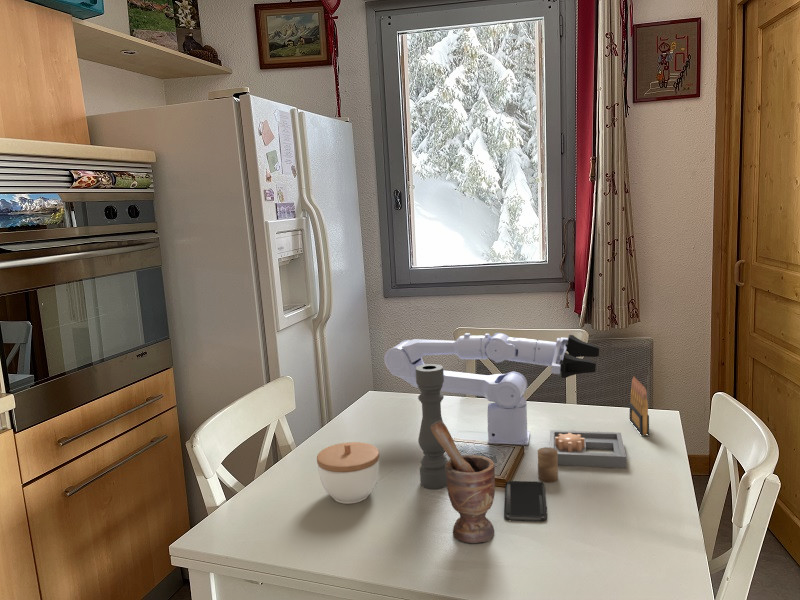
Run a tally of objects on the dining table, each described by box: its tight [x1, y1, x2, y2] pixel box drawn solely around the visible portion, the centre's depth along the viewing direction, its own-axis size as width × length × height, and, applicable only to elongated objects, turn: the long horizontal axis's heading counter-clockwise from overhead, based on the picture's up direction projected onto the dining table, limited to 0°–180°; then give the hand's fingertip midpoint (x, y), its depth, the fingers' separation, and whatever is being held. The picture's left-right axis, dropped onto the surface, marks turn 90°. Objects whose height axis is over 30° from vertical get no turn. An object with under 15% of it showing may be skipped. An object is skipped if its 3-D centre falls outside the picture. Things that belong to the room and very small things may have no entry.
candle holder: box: [415, 363, 449, 490], centre depth 135 cm, size 6×6×25 cm
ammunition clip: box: [628, 375, 650, 436], centre depth 159 cm, size 11×2×12 cm, turn 175°
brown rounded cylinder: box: [537, 446, 559, 484], centre depth 135 cm, size 4×4×6 cm
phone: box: [503, 480, 548, 523], centre depth 126 cm, size 8×1×15 cm
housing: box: [548, 429, 627, 469], centre depth 147 cm, size 16×14×4 cm
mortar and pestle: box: [430, 420, 496, 544], centre depth 115 cm, size 12×9×20 cm
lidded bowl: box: [316, 441, 380, 505], centre depth 132 cm, size 13×13×11 cm
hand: (597, 359), depth 147 cm, fingers open, 7 cm apart
